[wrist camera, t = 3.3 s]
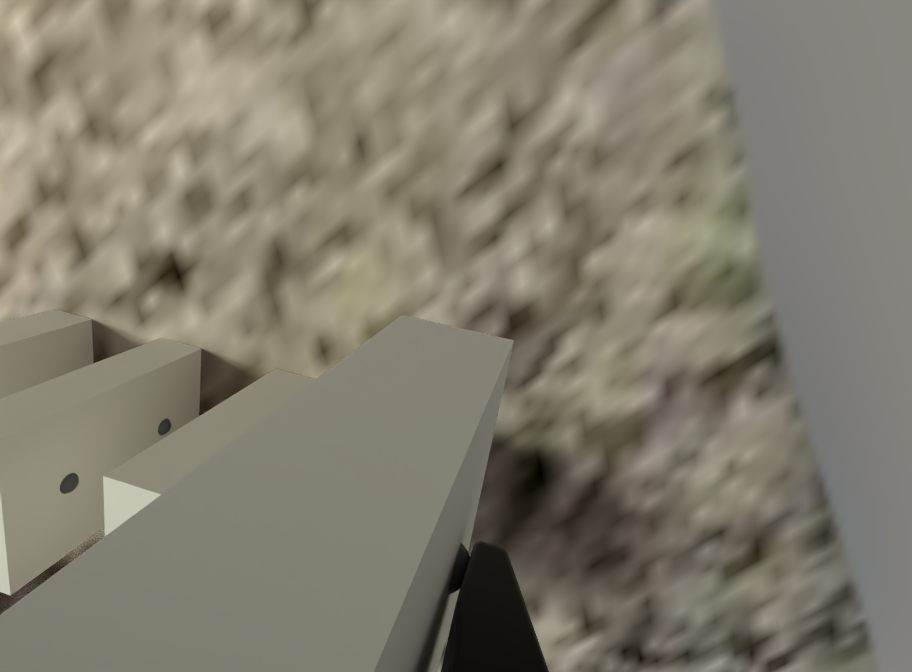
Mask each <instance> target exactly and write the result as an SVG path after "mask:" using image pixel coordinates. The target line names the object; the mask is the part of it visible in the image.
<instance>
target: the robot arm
mask: <svg viewBox="0 0 912 672" xmlns="http://www.w3.org/2000/svg"><path fill="white" fill-rule="evenodd" d="M3 612H4V611H3ZM3 612H1V613H0V614H2V613H3ZM441 672H549V671H548V668H547V665H546V662H545V659H544V656H543V654H542V651H541V648H540V645H539V642H538V639H537V636H536V633H535V631H534V628H533V625H532V622H531V619H530V616H529V613H528V611H527V608H526V605H525V602H524V599H523V596H522V593H521V591H520V588H519V585H518V582H517V579H516V576H515V573H514V571H513V568H512V565H511V562H510V559H509V556H508V554H507V551H506V550H505V549H504V548H501V547H498V546H495V545H491V544H488V543H484V542H481V541H479V542H476V543H475V544H474V547H473V550H472V553H471V556H470V559H469V562H468V566H467V569H466V572H465V575H464V578H463V581H462V584H461V588H460V591H459V594H458V598H457V601H456V605H455V610H454V614H453V619H452V624H451V628H450V633H449V637H448V642H447V647H446V651H445V656H444V660H443V665H442V669H441Z"/></svg>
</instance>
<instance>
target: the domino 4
mask: <svg viewBox="0 0 912 672" xmlns="http://www.w3.org/2000/svg"><path fill="white" fill-rule="evenodd" d="M513 342H514V340H509V339H505V338H501V337H496V336H492V335H488V334H483V333H479V332H475V331H470V330H466V329H462V328H457V327H453V326H449V325H444V324H440V323H436V322H431V321H427V320H423V319H418V318H414V317H410V316H405V315H401V316H400V317H399V318H397V319H396V320H395V321H393V322H392V323H391V324H389V325H388V326H387V327H385V328H384V329H383V330H381V331H380V332H379V333H377V334H376V335H375V336H373V337H372V338H371V339H369V340H368V341H367V342H365V343H364V344H363V345H361V346H360V347H359V348H357V349H356V350H355V351H353V352H352V353H350V354H349V355H348V356H346V357H345V358H344V359H342V360H341V361H340V362H338V363H337V364H336V365H334V366H333V367H332V368H330V369H329V370H328V371H326V372H325V373H324V374H322V375H321V376H320V377H318V378H317V379H316V380H314V381H313V382H312V383H310V384H309V385H308V386H306V387H305V388H304V389H302V390H301V391H300V392H298V393H297V394H295V395H294V396H293V397H291V398H290V399H289V400H287V401H286V402H285V403H283V404H282V405H281V406H279V407H278V408H277V409H275V410H274V411H273V412H271V413H270V414H269V415H267V416H266V417H265V418H263V419H262V420H261V421H259V422H258V423H257V424H255V425H254V426H253V427H251V428H250V429H249V430H247V431H246V432H245V433H243V434H242V435H240V436H239V437H238V438H236V439H235V440H234V441H232V442H231V443H230V444H228V445H227V446H226V447H224V448H223V449H222V450H220V451H219V452H218V453H216V454H215V455H214V456H212V457H211V458H210V459H208V460H207V461H206V462H204V463H203V464H202V465H200V466H199V467H198V468H196V469H195V470H194V471H192V472H191V473H190V474H188V475H187V476H185V477H184V478H183V479H181V480H180V481H179V482H177V483H176V484H175V485H173V486H172V487H171V488H169V489H168V490H167V491H165V492H164V493H163V494H161V495H160V496H159V497H157V498H156V499H155V500H153V501H152V502H151V503H149V504H148V505H147V506H145V507H144V508H143V509H141V510H140V511H139V512H137V513H136V514H135V515H133V516H132V517H130V518H129V519H128V520H126V521H125V522H124V523H122V524H121V525H120V526H118V527H117V528H116V529H114V530H113V531H112V532H110V533H109V534H108V535H106V536H105V537H104V538H102V539H101V540H100V541H98V542H97V543H96V544H94V545H93V546H92V547H90V548H89V549H88V550H86V551H85V552H84V553H82V554H81V555H80V556H78V557H77V558H75V559H74V560H73V561H71V562H70V563H69V564H67V565H66V566H65V567H63V568H62V569H61V570H59V571H58V572H57V573H55V574H54V575H53V576H51V577H50V578H49V579H47V580H46V581H45V582H43V583H42V584H41V585H39V586H38V587H37V588H35V589H34V590H33V591H31V592H30V593H29V594H27V595H26V596H25V597H23V598H22V599H20V600H19V601H18V602H16V603H15V604H14V605H12V606H11V607H10V608H8V609H7V610H6V611H4V612H3V613H2V614H0V672H437V669H438V665H439V662H440V658H441V655H442V652H443V648H444V645H445V641H446V638H447V635H448V631H449V628H450V624H451V621H452V618H453V614H454V610H455V605H456V601H457V598H458V594H459V591H460V588H461V584H462V581H463V578H464V575H465V572H466V569H467V566H468V562H469V559H470V556H469V553H468V550H469V546H470V541H471V536H472V532H473V527H474V522H475V518H476V513H477V509H478V504H479V499H480V495H481V490H482V485H483V481H484V476H485V471H486V467H487V462H488V458H489V453H490V448H491V444H492V439H493V434H494V430H495V425H496V421H497V416H498V411H499V407H500V402H501V397H502V393H503V388H504V383H505V379H506V374H507V370H508V365H509V360H510V356H511V351H512V346H513Z"/></svg>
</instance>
